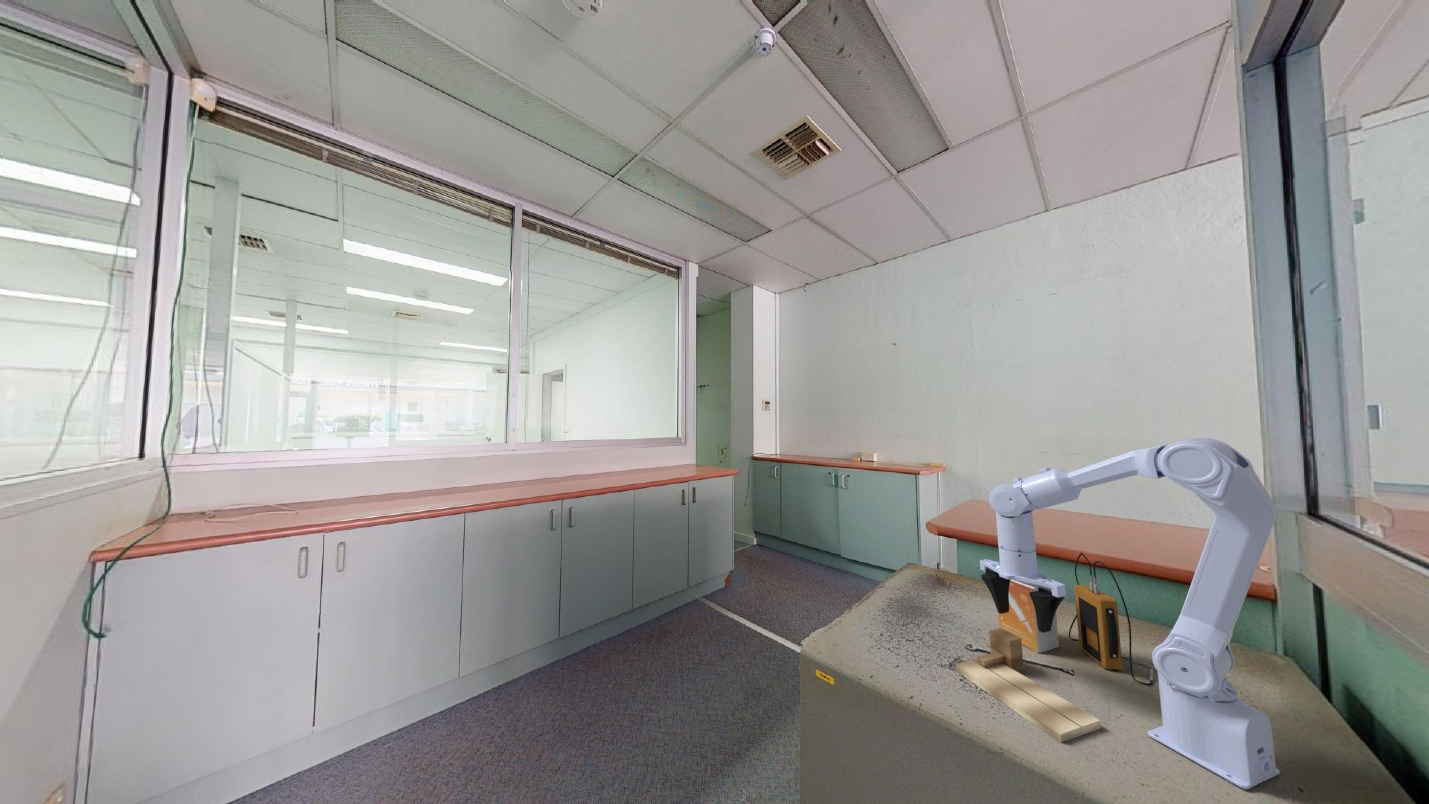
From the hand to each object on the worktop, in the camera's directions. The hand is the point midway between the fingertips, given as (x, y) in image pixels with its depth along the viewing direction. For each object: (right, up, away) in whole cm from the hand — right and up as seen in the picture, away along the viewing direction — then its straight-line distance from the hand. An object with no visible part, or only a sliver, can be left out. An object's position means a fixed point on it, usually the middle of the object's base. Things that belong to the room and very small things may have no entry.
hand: (1023, 621), depth 75 cm
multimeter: (+21, -9, +2) cm, 23 cm away
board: (-6, -9, -7) cm, 13 cm away
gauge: (-4, -10, +1) cm, 11 cm away
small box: (+9, -10, +10) cm, 17 cm away
